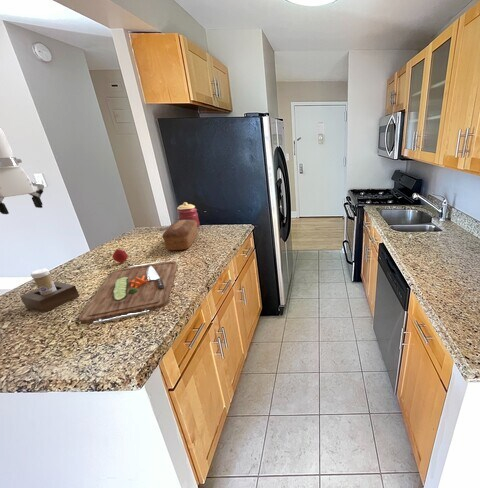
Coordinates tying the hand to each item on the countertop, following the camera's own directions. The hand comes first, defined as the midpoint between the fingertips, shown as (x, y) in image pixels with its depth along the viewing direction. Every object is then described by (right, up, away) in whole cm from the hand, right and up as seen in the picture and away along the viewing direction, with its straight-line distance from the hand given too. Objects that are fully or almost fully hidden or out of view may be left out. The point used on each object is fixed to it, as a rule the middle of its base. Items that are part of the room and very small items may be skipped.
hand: (23, 210), depth 98 cm
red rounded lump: (+11, -22, +34) cm, 42 cm away
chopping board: (+35, -31, +12) cm, 48 cm away
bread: (+29, -12, +59) cm, 67 cm away
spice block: (+9, -35, +2) cm, 36 cm away
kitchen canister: (+17, 0, +88) cm, 90 cm away
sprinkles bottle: (+9, -35, +2) cm, 36 cm away
